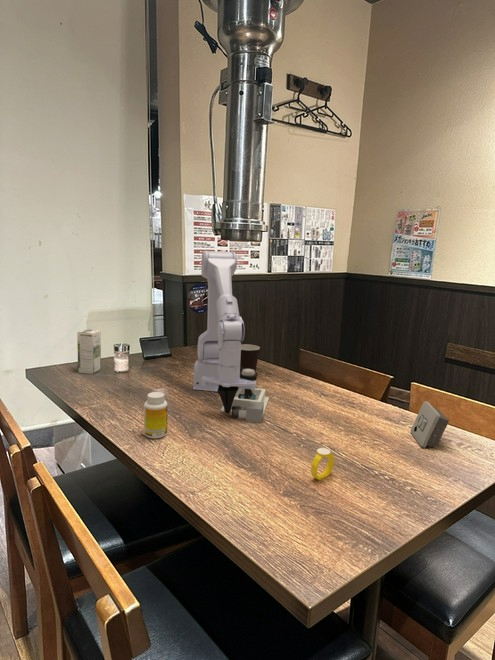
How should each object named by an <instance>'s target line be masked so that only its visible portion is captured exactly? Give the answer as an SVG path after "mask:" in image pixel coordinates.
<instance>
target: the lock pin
mask: <svg viewBox="0 0 495 660" xmlns="http://www.w3.org/2000/svg"><path fill="white" fill-rule="evenodd" d="M263 416H264V415H263V409H262V416H261V422H262V421H263ZM231 418H233V419H241V420H242V419H243V420H246V408H244V407H240V406H232V413H231Z"/></svg>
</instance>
